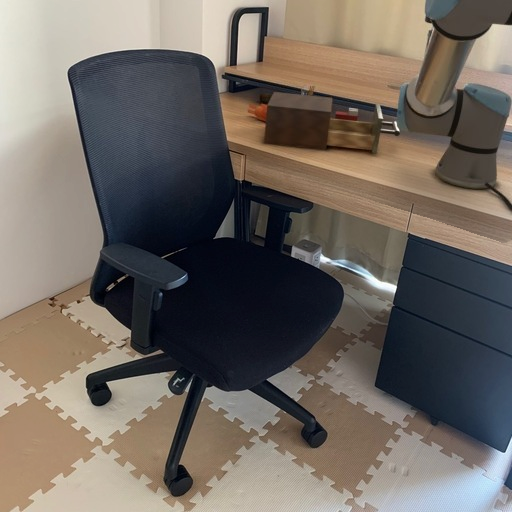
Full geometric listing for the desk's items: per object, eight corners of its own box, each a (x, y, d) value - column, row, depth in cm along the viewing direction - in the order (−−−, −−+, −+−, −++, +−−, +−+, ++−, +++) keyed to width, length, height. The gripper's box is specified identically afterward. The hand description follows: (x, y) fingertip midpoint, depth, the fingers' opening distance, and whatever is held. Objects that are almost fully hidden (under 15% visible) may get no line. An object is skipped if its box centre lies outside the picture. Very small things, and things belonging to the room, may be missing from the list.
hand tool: (258, 103, 192) (259, 90, 190) (266, 101, 195) (267, 89, 192) (291, 116, 180) (293, 102, 178) (300, 115, 182) (302, 101, 180)
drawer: (392, 138, 163) (398, 106, 158) (397, 155, 149) (404, 120, 144) (316, 130, 165) (320, 98, 160) (313, 146, 151) (317, 111, 146)
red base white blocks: (355, 128, 172) (358, 108, 169) (355, 131, 169) (358, 111, 166) (333, 126, 172) (336, 106, 169) (333, 129, 170) (336, 109, 166)
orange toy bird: (246, 99, 172) (276, 107, 166) (259, 103, 178) (288, 110, 173) (243, 114, 173) (272, 122, 168) (255, 118, 180) (284, 126, 174)
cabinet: (327, 133, 166) (332, 97, 160) (325, 150, 151) (331, 111, 145) (271, 126, 167) (274, 91, 162) (264, 143, 153) (267, 105, 147)
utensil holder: (307, 117, 180) (311, 81, 174) (316, 122, 175) (320, 85, 169) (291, 117, 178) (295, 81, 172) (300, 123, 173) (304, 86, 167)
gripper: (424, 4, 142) (406, 92, 154) (431, 8, 131) (411, 103, 143) (452, 6, 142) (432, 94, 154) (462, 10, 130) (439, 105, 142)
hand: (422, 98), depth 148 cm, fingers closed
